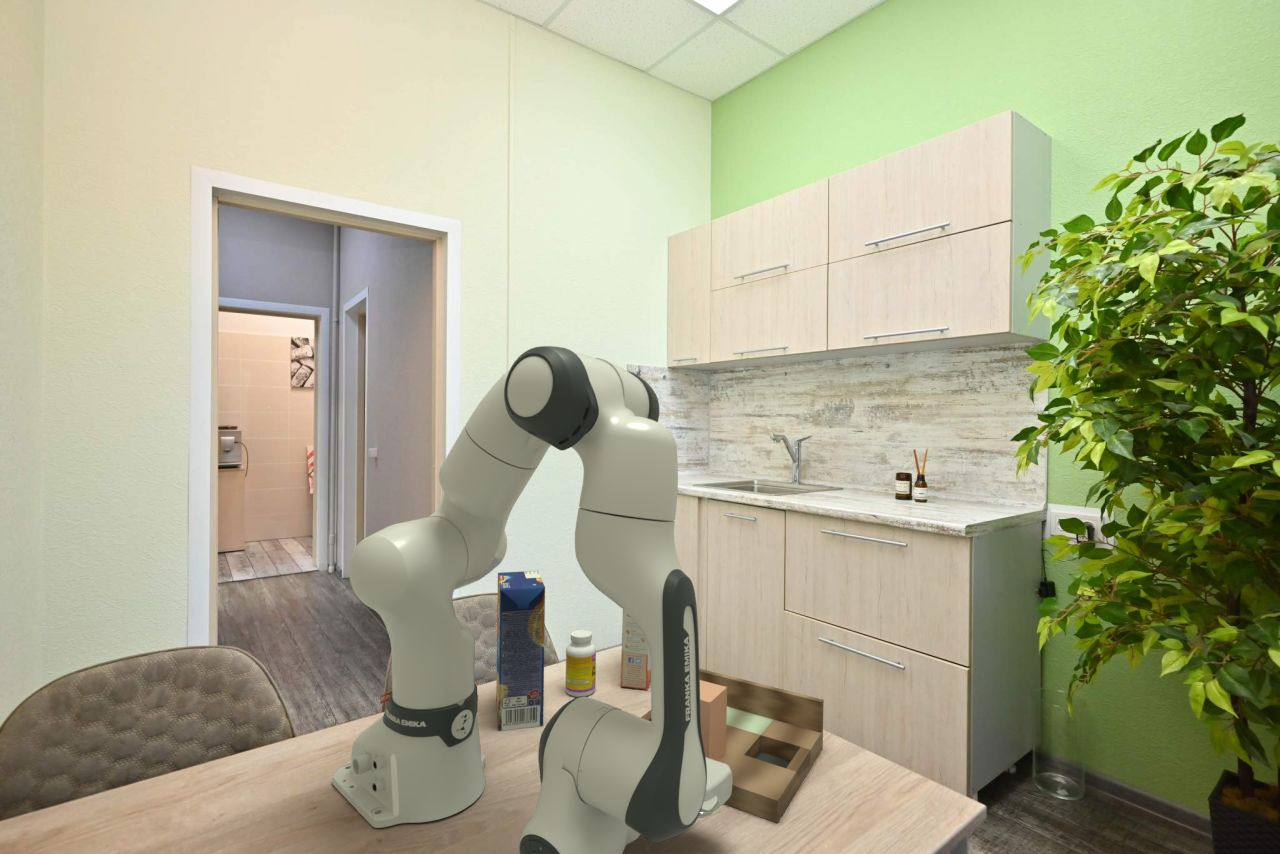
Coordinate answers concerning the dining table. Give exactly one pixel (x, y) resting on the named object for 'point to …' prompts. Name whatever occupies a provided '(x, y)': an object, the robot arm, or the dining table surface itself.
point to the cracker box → (634, 656)
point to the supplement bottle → (580, 664)
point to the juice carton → (520, 650)
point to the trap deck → (767, 743)
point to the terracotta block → (713, 719)
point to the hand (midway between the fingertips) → (681, 740)
